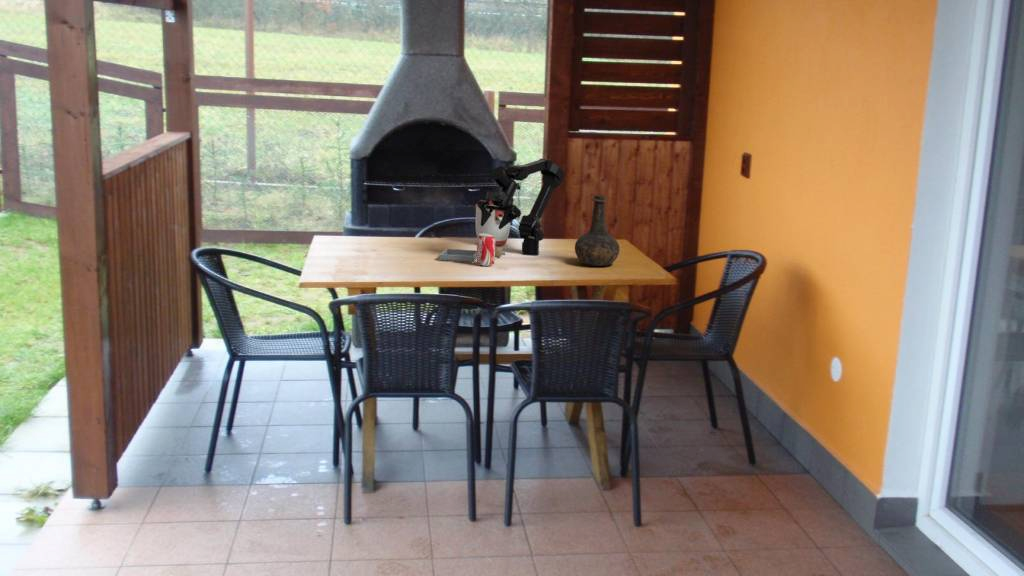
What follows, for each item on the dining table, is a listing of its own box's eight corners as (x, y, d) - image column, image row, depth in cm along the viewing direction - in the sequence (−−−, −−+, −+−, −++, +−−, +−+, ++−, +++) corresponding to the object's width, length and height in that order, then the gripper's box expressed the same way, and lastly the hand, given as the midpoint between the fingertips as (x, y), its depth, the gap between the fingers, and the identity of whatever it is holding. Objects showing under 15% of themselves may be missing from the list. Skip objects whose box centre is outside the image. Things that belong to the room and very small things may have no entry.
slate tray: (479, 256, 404) (479, 250, 404) (473, 263, 391) (473, 256, 391) (446, 254, 406) (446, 248, 405) (439, 260, 393) (439, 254, 393)
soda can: (492, 267, 384) (493, 236, 382) (474, 266, 386) (475, 235, 383) (496, 264, 391) (497, 233, 388) (478, 262, 392) (479, 232, 390)
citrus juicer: (486, 248, 422) (488, 201, 418) (467, 242, 437) (469, 196, 433) (518, 246, 430) (520, 200, 426) (499, 240, 445) (500, 195, 440)
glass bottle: (610, 260, 409) (614, 192, 403) (624, 269, 392) (629, 198, 386) (568, 260, 405) (572, 191, 399) (580, 269, 388) (584, 197, 382)
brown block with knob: (505, 254, 412) (505, 247, 411) (501, 258, 403) (502, 250, 403) (485, 253, 413) (486, 245, 412) (482, 257, 404) (482, 249, 404)
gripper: (478, 180, 396) (461, 214, 392) (514, 185, 385) (498, 219, 381) (492, 195, 405) (476, 228, 400) (528, 200, 393) (512, 234, 389)
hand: (490, 227), depth 392 cm, fingers open, 9 cm apart
